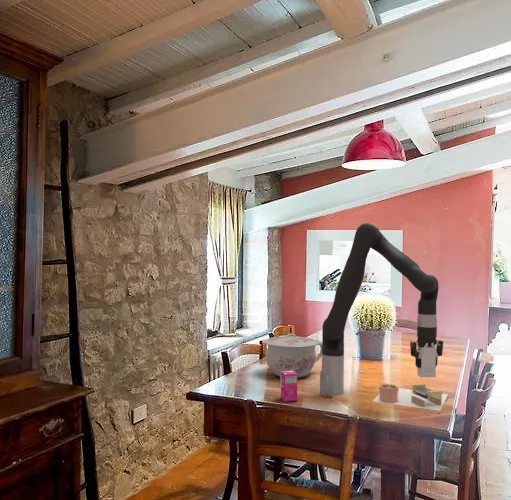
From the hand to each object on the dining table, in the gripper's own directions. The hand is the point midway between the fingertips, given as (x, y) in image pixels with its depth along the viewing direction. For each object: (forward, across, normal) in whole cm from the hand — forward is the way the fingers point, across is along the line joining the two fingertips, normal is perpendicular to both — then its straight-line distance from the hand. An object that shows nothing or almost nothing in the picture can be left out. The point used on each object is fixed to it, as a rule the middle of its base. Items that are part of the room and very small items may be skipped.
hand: (426, 367), depth 209 cm
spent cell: (+14, -12, +8) cm, 20 cm away
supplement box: (+16, -50, +22) cm, 57 cm away
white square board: (+16, -1, +9) cm, 18 cm away
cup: (+14, -12, +8) cm, 20 cm away
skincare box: (+4, 0, 0) cm, 4 cm away
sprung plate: (+13, +7, +10) cm, 18 cm away
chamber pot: (+16, -34, +62) cm, 72 cm away
